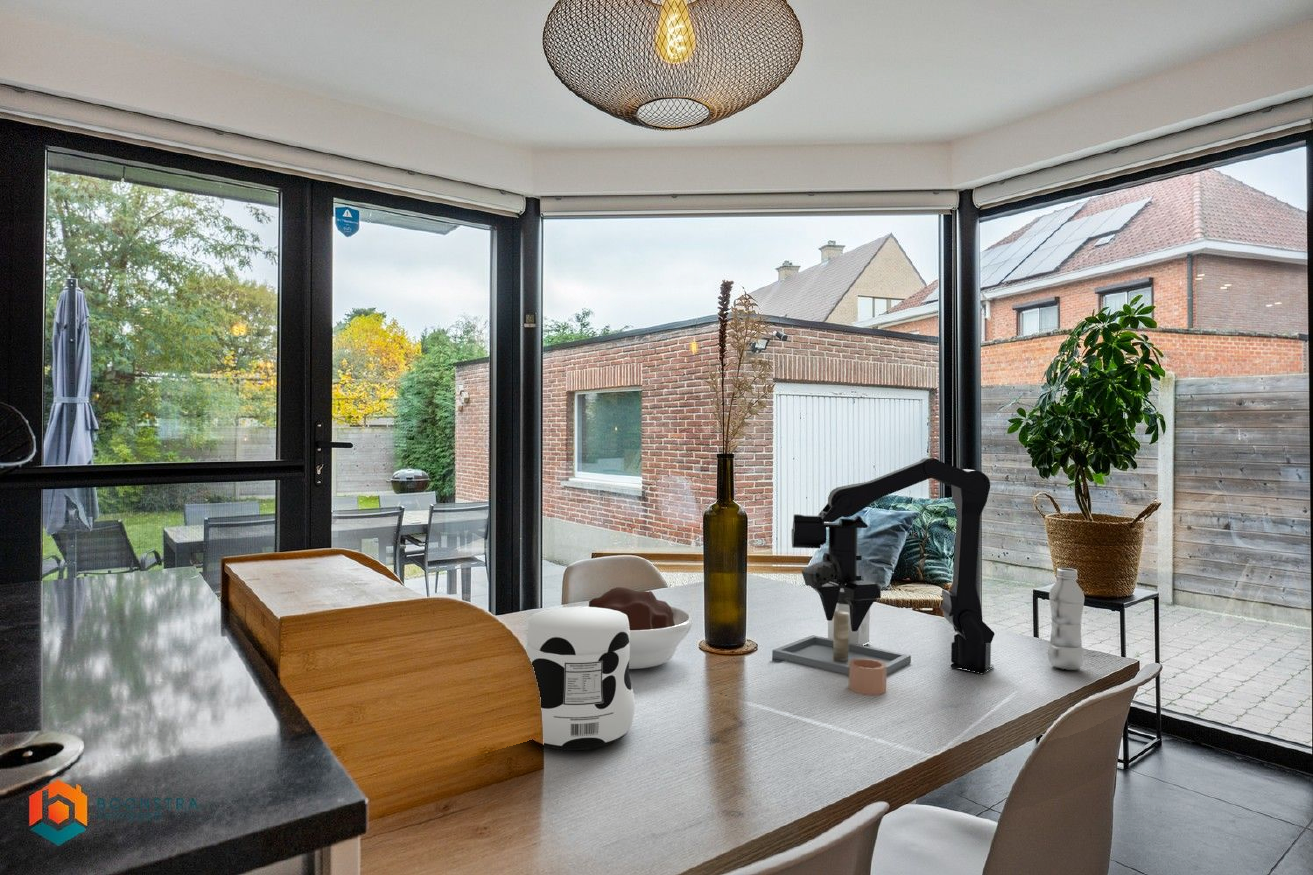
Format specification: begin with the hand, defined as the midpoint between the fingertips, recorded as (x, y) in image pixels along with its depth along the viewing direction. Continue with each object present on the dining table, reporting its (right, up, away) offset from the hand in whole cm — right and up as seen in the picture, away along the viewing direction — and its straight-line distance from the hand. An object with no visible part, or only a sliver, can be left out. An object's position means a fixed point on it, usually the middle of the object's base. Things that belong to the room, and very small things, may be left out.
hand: (841, 625), depth 157 cm
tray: (0, -8, 0) cm, 8 cm away
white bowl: (-43, -7, -2) cm, 44 cm away
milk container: (-50, -7, -40) cm, 64 cm away
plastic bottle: (+45, -8, -2) cm, 45 cm away
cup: (0, -8, -18) cm, 19 cm away
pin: (0, -7, 0) cm, 7 cm away
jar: (+5, -8, +15) cm, 18 cm away
